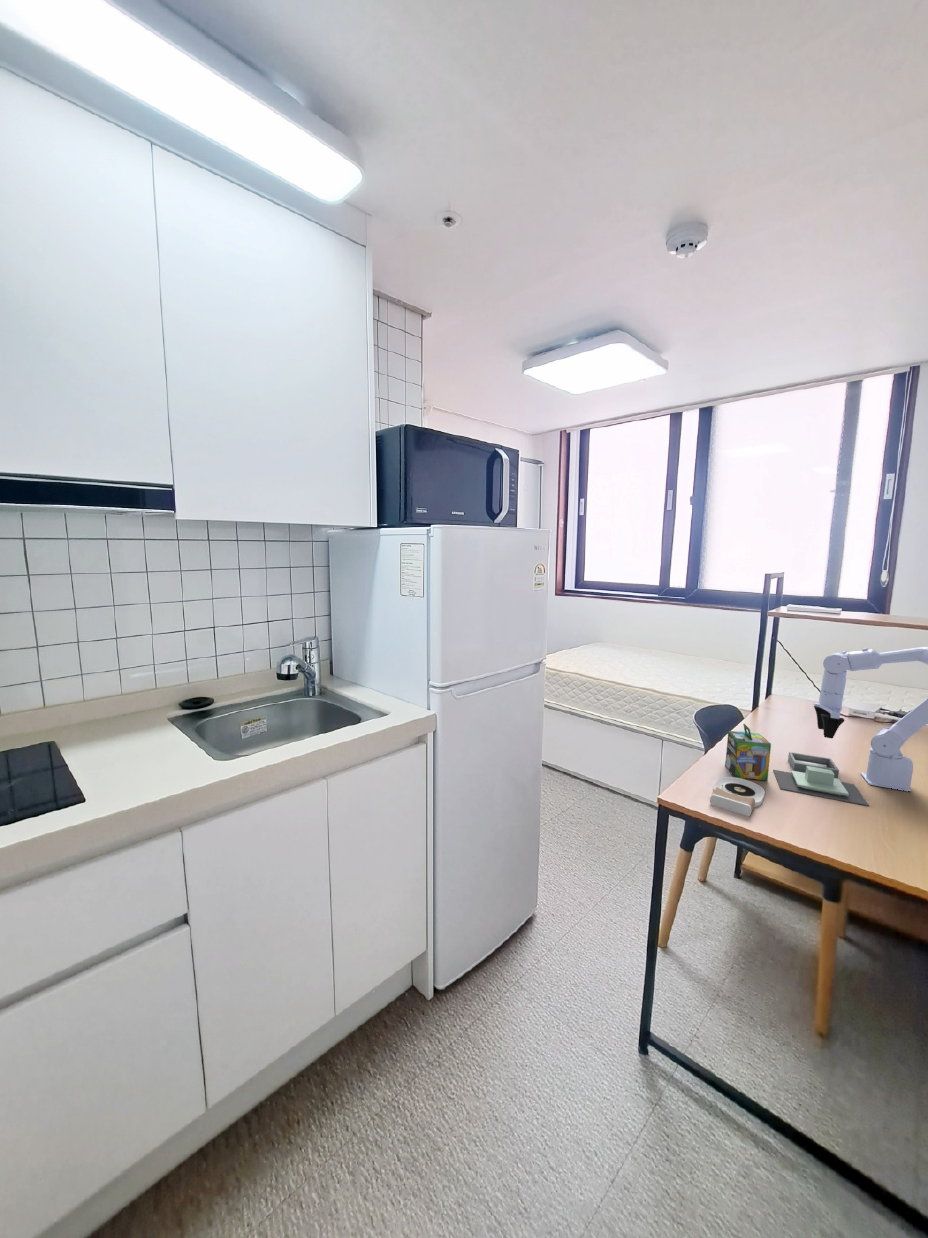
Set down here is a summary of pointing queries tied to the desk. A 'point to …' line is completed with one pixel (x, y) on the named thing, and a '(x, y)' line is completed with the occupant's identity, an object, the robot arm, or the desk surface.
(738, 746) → the chalk box
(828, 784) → the lid
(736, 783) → the record player
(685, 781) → the desk surface
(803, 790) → the rubber mat
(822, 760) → the chalk tray box
